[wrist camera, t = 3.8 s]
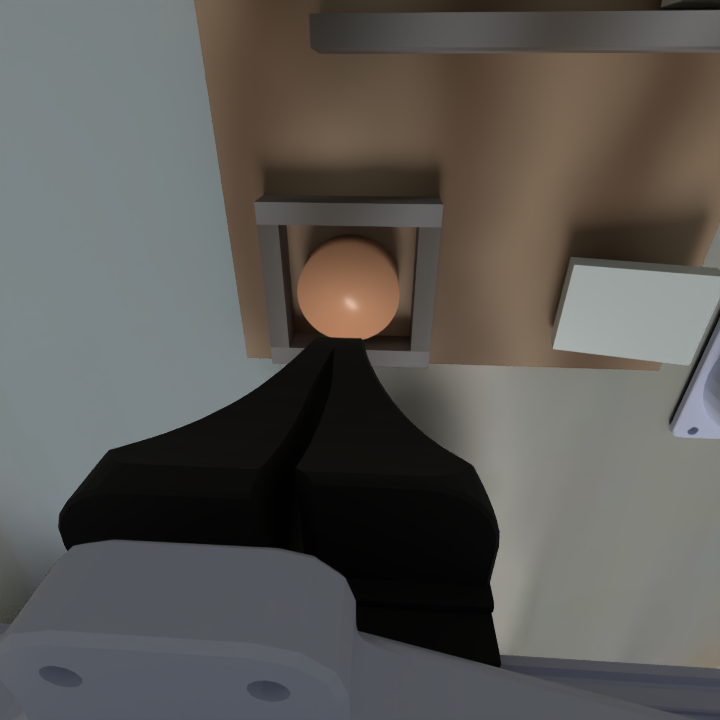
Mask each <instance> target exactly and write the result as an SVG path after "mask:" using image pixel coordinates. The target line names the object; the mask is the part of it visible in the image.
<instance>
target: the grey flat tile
mask: <svg viewBox="0 0 720 720" xmlns="http://www.w3.org/2000/svg"><path fill="white" fill-rule="evenodd" d="M719 298H720V270H719V269H718V268H709V267H696V266H683V265H670V264H657V263H644V262H631V261H618V260H605V259H592V258H579V257H571V258H570V261H569V265H568V269H567V273H566V277H565V281H564V285H563V289H562V293H561V297H560V301H559V305H558V309H557V313H556V317H555V321H554V325H553V329H552V333H551V337H550V339H551V344H552V349H557V350H565V351H573V352H581V353H589V354H597V355H606V356H614V357H622V358H630V359H638V360H646V361H655V362H663V363H671V364H679V365H687V366H689V365H690V363H691V361H692V358H693V356H694V354H695V352H696V350H697V347H698V345H699V343H700V341H701V338H702V336H703V334H704V332H705V330H706V327H707V325H708V323H709V321H710V318H711V316H712V314H713V312H714V310H715V307H716V305H717V303H718V301H719Z"/></svg>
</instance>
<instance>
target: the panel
mask: <svg viewBox="0 0 720 720" xmlns="http://www.w3.org/2000/svg"><path fill="white" fill-rule="evenodd" d="M194 2H195V9H196V15H197V22H198V29H199V35H200V42H201V49H202V56H203V62H204V69H205V76H206V82H207V89H208V96H209V102H210V109H211V116H212V123H213V129H214V136H215V143H216V149H217V156H218V163H219V169H220V176H221V183H222V190H223V196H224V203H225V210H226V216H227V223H228V230H229V236H230V243H231V250H232V257H233V263H234V270H235V277H236V283H237V290H238V297H239V303H240V310H241V317H242V324H243V330H244V337H245V344H246V350H247V357H248V358H271V359H272V361H273V363H284V364H288V363H289V362H291V361H292V360H293V359H294V358H295V357H296V356H297V355H298V354H299V353H300V352H301V351H302V350H303V349H304V348H306V347H307V346H308V345H309V344H310V343H311V342H312V341H313V340H314V339H315V338H316V337H328V336H326V335H324V334H322V333H321V332H319V331H318V330H317V329H315V328H314V327H313V326H312V325H311V324H310V323H309V322H308V320H307V319H306V318H305V316H304V314H303V313H302V310H301V308H300V305H299V302H298V296H297V287H298V281H299V277H300V275H301V272H302V270H303V268H304V266H305V264H306V262H307V260H308V259H309V257H310V255H311V254H312V252H313V251H314V250H315V249H316V248H317V247H318V246H319V245H320V244H321V243H323V242H324V241H326V240H328V239H330V238H332V237H335V236H339V235H346V234H354V235H360V236H364V237H367V238H370V239H372V240H374V241H376V242H377V243H379V244H380V245H381V246H383V247H384V248H385V249H386V250H387V251H388V253H389V254H390V255H391V257H392V258H393V260H394V262H395V264H396V267H397V270H398V276H399V295H400V297H399V304H398V308H397V311H396V313H395V316H394V317H393V319H392V320H391V322H390V323H389V324H388V325H387V326H386V327H385V328H384V329H383V330H382V331H381V332H379V333H378V334H376V335H374V336H372V337H369V338H367V339H363V341H364V342H365V349H366V353H367V356H368V358H369V361H370V363H371V366H379V367H410V368H428V363H431V364H463V365H496V366H528V367H560V368H592V369H624V370H656V371H659V369H660V366H661V364H662V362H655V361H646V360H638V359H630V358H622V357H614V356H606V355H597V354H589V353H581V352H573V351H565V350H557V349H552V344H551V339H550V337H551V333H552V329H553V325H554V321H555V317H556V313H557V309H558V305H559V301H560V297H561V293H562V289H563V285H564V281H565V277H566V273H567V269H568V265H569V261H570V258H571V257H579V258H592V259H605V260H618V261H631V262H644V263H657V264H670V265H683V266H696V267H702V264H703V262H704V259H705V257H706V255H707V252H708V250H709V247H710V245H711V242H712V240H713V238H714V235H715V233H716V230H717V228H718V225H719V223H720V7H702V8H660V7H661V4H662V0H194Z"/></svg>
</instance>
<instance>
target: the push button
mask: <svg viewBox="0 0 720 720" xmlns="http://www.w3.org/2000/svg"><path fill="white" fill-rule="evenodd" d="M297 296H298V302H299V305H300V308H301V310H302V313H303V314H304V316H305V318H306V319H307V320H308V322H309V323H310V324H311V325H312V326H313V327H314V328H315V329H317V330H318V331H319V332H321V333H322V334H324V335H326V336H328V337H336V338H361V339H362V340H363V339H367V338H369V337H372V336H374V335H376V334H378V333H379V332H381V331H382V330H383V329H384V328H385V327H386V326H387V325H388V324H389V323H390V322H391V320H392V319H393V317H394V316H395V313H396V311H397V308H398V304H399V297H400V295H399V276H398V270H397V267H396V264H395V262H394V260H393V258H392V257H391V255H390V254H389V253H388V251H387V250H386V249H385V248H384V247H383V246H381V245H380V244H379V243H377V242H376V241H374V240H372V239H370V238H367V237H364V236H360V235H354V234H346V235H339V236H335V237H332V238H330V239H328V240H326V241H324V242H323V243H321V244H320V245H319V246H318V247H317V248H316V249H315V250H314V251H313V252H312V254H311V255H310V257H309V259H308V260H307V262H306V264H305V266H304V268H303V270H302V272H301V275H300V277H299V281H298V287H297Z"/></svg>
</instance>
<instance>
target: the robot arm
mask: <svg viewBox="0 0 720 720" xmlns="http://www.w3.org/2000/svg"><path fill="white" fill-rule="evenodd" d="M692 427H693V428H692ZM690 428H692V429H690ZM689 429H690V430H689ZM670 431H671V433H672V434H673V435H674V436H676V437H685V438H711V439H720V319H719V321H718V323H717V325H716V327H715V330H714V332H713V334H712V336H711V338H710V340H709V343H708V345H707V347H706V349H705V351H704V353H703V356H702V358H701V360H700V362H699V364H698V367H697V369H696V371H695V373H694V375H693V377H692V380H691V382H690V384H689V386H688V388H687V390H686V393H685V395H684V397H683V399H682V401H681V403H680V406H679V408H678V410H677V412H676V414H675V416H674V419H673V421H672V423H671V425H670ZM58 528H59V531H60V534H61V537H62V540H63V543H64V546H65V547H66V549H67V552H66V553H65V554H64V555H63V556H62V557H61V558H60V559H59V560H58V561H57V562H56V563H55V564H54V566H53V567H52V569H51V570H50V571H49V573H48V574H47V575H46V577H45V578H44V580H43V581H42V582H41V584H40V585H39V586H38V588H37V589H36V591H35V592H34V593H33V595H32V596H31V598H30V599H29V600H28V602H27V603H26V604H25V606H24V607H23V609H22V610H21V611H20V613H19V614H18V615H17V617H16V618H15V620H14V621H13V622H12V624H6V623H0V720H720V669H716V668H701V667H685V666H669V665H653V664H637V663H622V662H606V661H590V660H574V659H559V658H543V657H527V656H511V655H500V654H499V649H498V644H497V639H496V634H495V629H494V623H493V618H492V613H491V612H493V610H494V600H493V596H492V591H491V586H490V580H491V576H492V572H493V568H494V564H495V560H496V556H497V552H498V548H499V533H500V531H499V528H498V523H497V519H496V516H495V513H494V510H493V507H492V505H491V502H490V500H489V498H488V495H487V493H486V491H485V488H484V486H483V484H482V482H481V480H480V478H479V476H478V474H477V472H476V470H475V468H474V467H473V466H472V465H471V464H469V463H468V462H466V461H464V460H463V459H461V458H459V457H458V456H456V455H454V454H453V453H451V452H449V451H448V450H446V449H444V448H443V447H441V446H440V445H438V444H437V443H436V442H434V441H433V440H432V439H430V438H429V437H428V436H426V435H425V434H424V433H423V432H422V431H420V430H419V429H418V428H417V427H416V426H415V425H414V424H413V423H412V422H410V420H409V419H408V418H407V417H406V416H405V415H404V414H403V413H402V412H401V411H400V409H399V408H398V407H397V406H396V405H395V403H394V402H393V401H392V399H391V398H390V397H389V395H388V394H387V392H386V391H385V389H384V388H383V386H382V384H381V383H380V381H379V379H378V378H377V376H376V374H375V372H374V370H373V368H372V366H371V363H370V361H369V358H368V356H367V353H366V349H365V342H364V341H363V340H362V339H361V338H336V337H316V338H315V339H314V340H313V341H312V342H311V343H310V344H309V345H308V346H307V347H306V348H304V349H303V350H302V351H301V352H300V353H299V354H298V355H297V356H296V357H295V358H294V359H293V360H292V361H291V362H289V363H288V364H287V365H286V366H285V367H284V368H283V369H281V370H280V371H279V372H278V373H276V374H275V375H274V376H273V377H271V378H270V379H269V380H267V381H266V382H265V383H264V384H262V385H261V386H259V387H258V388H256V389H255V390H253V391H252V392H250V393H249V394H247V395H246V396H244V397H242V398H241V399H239V400H237V401H236V402H234V403H232V404H230V405H228V406H226V407H224V408H222V409H220V410H218V411H216V412H214V413H212V414H210V415H208V416H206V417H204V418H202V419H200V420H198V421H195V422H193V423H190V424H188V425H186V426H183V427H180V428H178V429H175V430H172V431H170V432H167V433H164V434H161V435H158V436H156V437H152V438H149V439H146V440H142V441H139V442H136V443H132V444H129V445H125V446H122V447H119V448H115V449H111V450H109V451H108V452H107V453H106V454H105V455H104V456H103V458H102V459H101V460H100V461H99V463H98V464H97V465H96V466H95V467H94V469H93V470H92V471H91V472H90V474H89V475H88V476H87V477H86V479H85V480H84V481H83V482H82V484H81V485H80V486H79V487H78V489H77V490H76V491H75V492H74V494H73V495H72V496H71V497H70V498H69V500H68V501H67V502H66V504H65V505H64V507H63V509H62V510H61V512H60V514H59V525H58Z"/></svg>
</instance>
